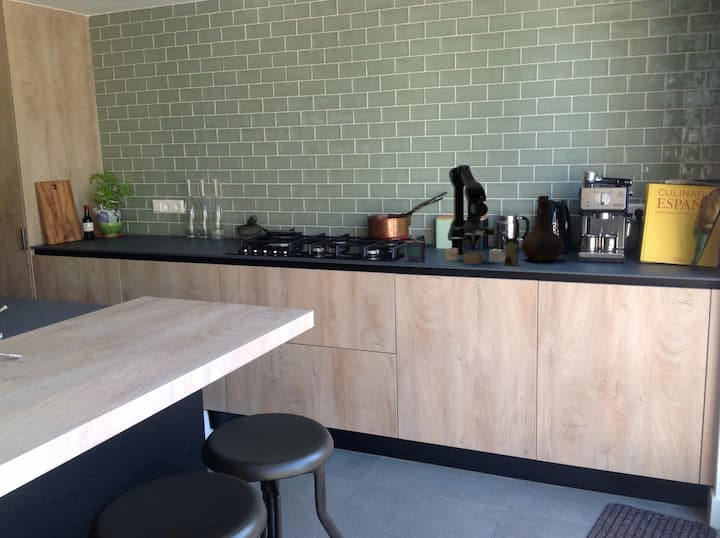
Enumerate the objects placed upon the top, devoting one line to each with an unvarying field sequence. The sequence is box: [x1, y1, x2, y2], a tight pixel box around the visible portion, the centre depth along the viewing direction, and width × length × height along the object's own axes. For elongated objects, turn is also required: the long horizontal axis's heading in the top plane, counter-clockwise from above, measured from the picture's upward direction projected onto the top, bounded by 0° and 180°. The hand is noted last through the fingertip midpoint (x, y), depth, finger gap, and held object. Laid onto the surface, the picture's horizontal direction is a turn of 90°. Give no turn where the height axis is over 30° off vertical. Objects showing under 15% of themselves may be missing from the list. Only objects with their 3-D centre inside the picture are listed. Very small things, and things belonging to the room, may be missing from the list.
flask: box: [404, 237, 426, 263], centre depth 296 cm, size 9×3×11 cm, turn 65°
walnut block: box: [462, 251, 485, 265], centre depth 291 cm, size 7×7×4 cm
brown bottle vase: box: [521, 195, 565, 263], centre depth 288 cm, size 18×18×28 cm
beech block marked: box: [444, 247, 459, 262], centre depth 299 cm, size 5×5×5 cm
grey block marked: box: [488, 248, 506, 264], centre depth 292 cm, size 5×5×5 cm
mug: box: [500, 235, 519, 267], centre depth 281 cm, size 8×6×12 cm
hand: (474, 250), depth 291 cm, fingers closed
